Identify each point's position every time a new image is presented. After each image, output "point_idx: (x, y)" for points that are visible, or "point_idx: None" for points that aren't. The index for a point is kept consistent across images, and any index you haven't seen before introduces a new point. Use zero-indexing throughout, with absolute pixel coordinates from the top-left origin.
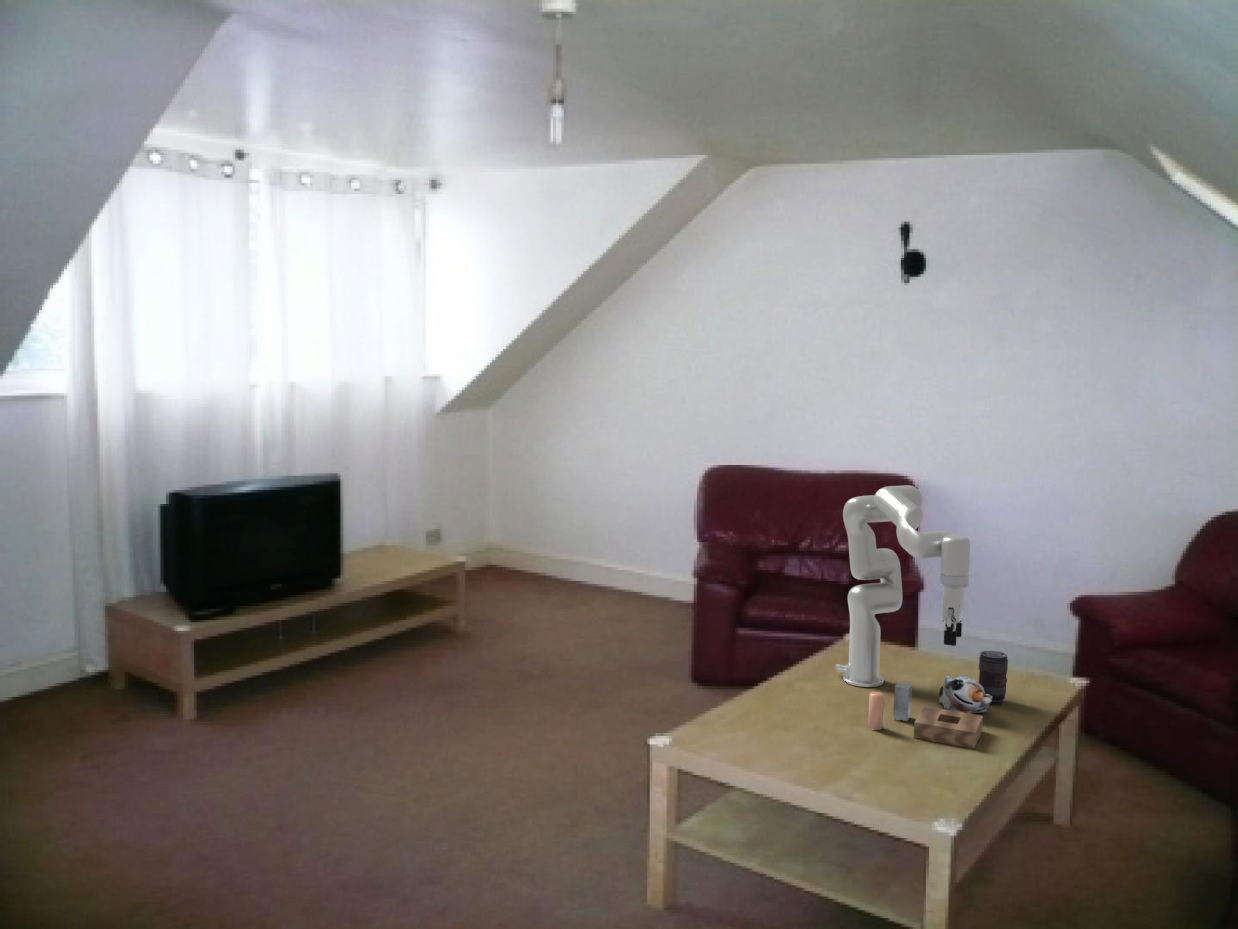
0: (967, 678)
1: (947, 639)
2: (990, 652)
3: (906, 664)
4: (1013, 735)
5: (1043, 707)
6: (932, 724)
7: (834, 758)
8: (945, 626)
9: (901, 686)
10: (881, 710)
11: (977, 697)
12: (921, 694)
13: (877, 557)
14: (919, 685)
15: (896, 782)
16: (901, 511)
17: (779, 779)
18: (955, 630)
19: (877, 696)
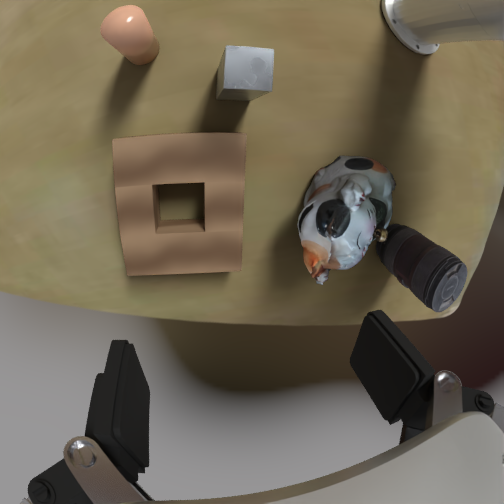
0: (357, 244)
1: (97, 390)
2: (460, 278)
3: (485, 107)
4: (242, 302)
5: (380, 309)
6: (120, 182)
7: None
8: (77, 476)
9: (234, 63)
10: (120, 51)
11: (304, 260)
12: (395, 118)
13: None
14: (430, 117)
15: None
16: None
17: None
18: (376, 366)
19: (102, 32)
